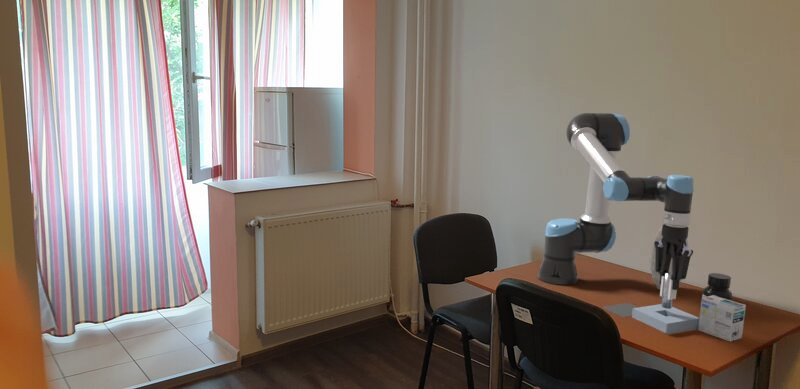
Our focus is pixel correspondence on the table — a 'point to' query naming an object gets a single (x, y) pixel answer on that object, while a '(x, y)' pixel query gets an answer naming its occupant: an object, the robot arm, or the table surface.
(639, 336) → the table surface
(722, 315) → the light bulb box
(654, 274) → the vase
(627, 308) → the mat
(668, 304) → the pin
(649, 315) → the socket block
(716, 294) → the ink bottle
